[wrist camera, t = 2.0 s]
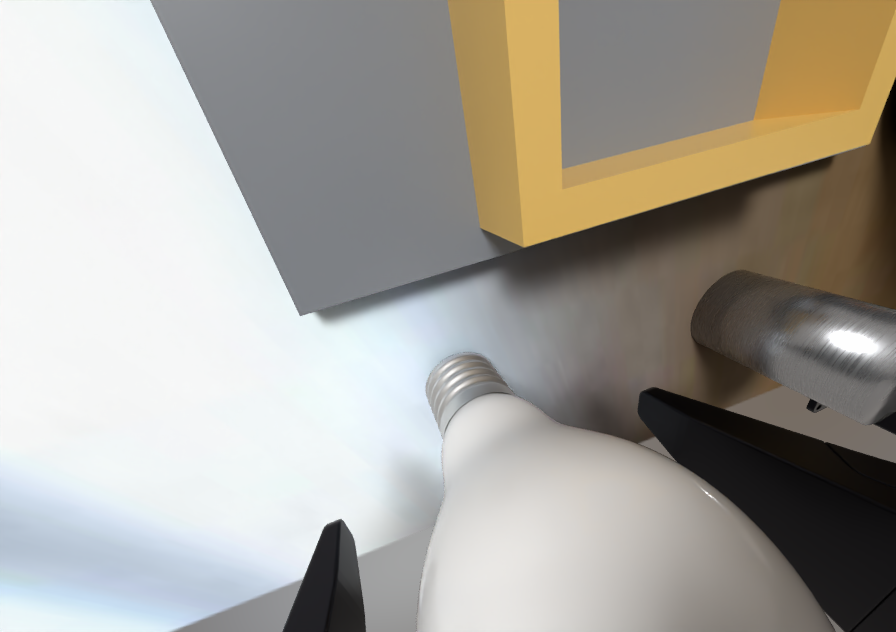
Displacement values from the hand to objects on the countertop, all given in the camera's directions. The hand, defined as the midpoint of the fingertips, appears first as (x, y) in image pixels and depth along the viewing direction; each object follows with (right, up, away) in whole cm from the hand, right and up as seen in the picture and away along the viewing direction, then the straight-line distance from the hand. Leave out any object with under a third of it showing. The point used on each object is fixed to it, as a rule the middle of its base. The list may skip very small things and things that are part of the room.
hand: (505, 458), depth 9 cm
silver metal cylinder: (+12, +4, +7) cm, 15 cm away
